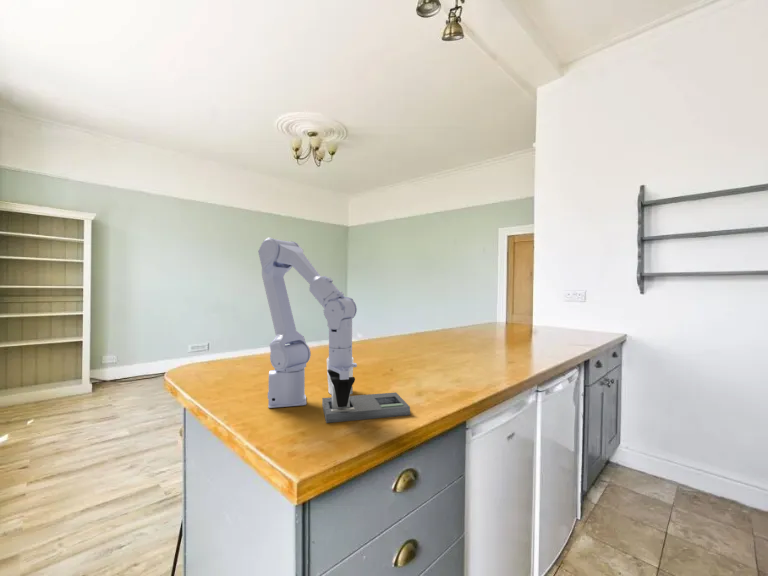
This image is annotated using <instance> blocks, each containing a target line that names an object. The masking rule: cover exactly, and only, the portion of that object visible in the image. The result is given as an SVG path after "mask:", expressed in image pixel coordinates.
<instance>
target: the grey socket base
mask: <svg viewBox="0 0 768 576" xmlns="http://www.w3.org/2000/svg"><path fill="white" fill-rule="evenodd" d="M321 406H322V410H323V414H324V419H325V423H326V424H328V423H329V424H330V423H339V422H340V423H342V422H350V421H363V420H372V419H381V418H382V419H384V418H394V417H404V416H411V407H410V405H409V404H408V403H407V402H406V401H405V400H404V399H403V398H402V397H401V396H400V395H399V394H398V393H397V392H387V393H386V392H383V393H370V394H360V395H359V394H357V395H350V407H348V408H336V409H332V396H330V397H322V404H321Z"/></svg>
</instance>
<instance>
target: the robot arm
mask: <svg viewBox="0 0 768 576" xmlns="http://www.w3.org/2000/svg"><path fill="white" fill-rule="evenodd" d="M258 256H259V261H260V265H261V277H262V280H263V281H262V282H263V286H264V291H265V295H266V298H267V304H268V307H269V311H270V316H271V319H272V323H273V329H274V333H275V336H274V339H273V340H271V342H270V343H269V349H270V354H269V356H270V357H269V359H270V360H269V362H270V364H271V365H272V367H273V370H269V372H268V392H267V399H268V405H267V406H268V408H269V409H272V408H284V407H286V408H287V407H299V406H306V405H307V395H306V394H305V391H306V390H305V385H306V384H305V382H306V381H305V379H306V377H305V372H306V371H305V368H307V363H308V362H310V359H311V356H312V355H311V348H310V347H309V345H308V343H307V342H306V339H305V337H304V336H303V335H302V334H301V333H300V332H298V331H297V327H296V324H295V323H296V322H295V320H294V316H293V311H292V307H291V302H290V300H289V299H290V298H289V294H288V291H287V287H286V282H285V278H284V277H285V275H286V274H287V273H288V272H289V271H290V270H291V269H292V268H294V269H295V270H296V272H297V273H298V274H299V275H300V276H302V278H303V279H304V280H305V281H306V282H307V283H308V284H309V287H308V288H309V292H310V294H312V296H313V297H314V299H316V300H317V302H318V303H319V304H320V306H322V308H323V310H322V311H323V315H324V318H325V319H326V322H327V327H328V357H329V364H328V370H327V369H326V372H327V371H328V373H329V375H330V379H331V381H332V383H333V385H334V388H335V393H336V400H337V405H338V407H347V404H348V400H349V394H350V390H351V387H353V385H354V383H355V381H356V378H355V377H354V376H353V377H349V371H350V370H351V369H352V368H353V369H354V368H357V367H358V364H357V363H356V362H353V363H352V357H353V318H355V316H356V314H357V310H358V308H357V305H356V303H355V301H354V299H353V298H351V297H350V296H345V294H344V293H343V291H340V289H338V288H337V286H336V285H335V284H334V283H333V281H334V280H333V279H332V278H331V277H328V276H327V275H320V274H319V272H318V270H317V269H316V268H315V267H314V265H312V263H311V261H310V260H309V258H307V256H306V255H305V253H304V249H303V248H302V247H301V246H300V245H299V243H298V242H296V241H292V240H291V241H289V240H283V239H282V240H281V239H278V238H272V237H267V238H265V239H264V240H263V241H262V243H261V245H260V247H259V249H258ZM350 395H351V394H350Z"/></svg>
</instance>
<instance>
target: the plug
mask: <svg viewBox="0 0 768 576" xmlns="http://www.w3.org/2000/svg"><path fill="white" fill-rule="evenodd" d="M353 387H354V386H352V387H351V390H350V394H349V400H348V404H347V407H338V405H337V400H336V393H335V388H334V385H333V383H332V394H331V397H332V409H336V408H348V407H350V396H351V395H353Z"/></svg>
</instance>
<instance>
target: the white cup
mask: <svg viewBox="0 0 768 576" xmlns="http://www.w3.org/2000/svg"><path fill="white" fill-rule="evenodd" d="M352 363H354V357H353V356H352ZM328 364H329V356H328V357H327V358H326V373H327V374H326V375H327V385H328V393H329V394H330V395H332V381H331V379H330V375H329V373H328V371H327V370H328ZM353 373H354V367H353V368H352V369H351V370H350V371H349V377H354V374H353Z"/></svg>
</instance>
